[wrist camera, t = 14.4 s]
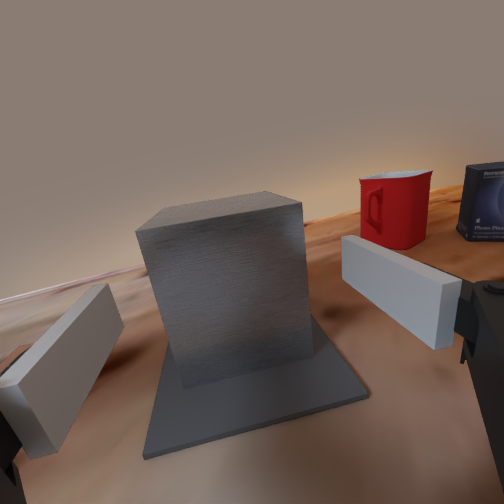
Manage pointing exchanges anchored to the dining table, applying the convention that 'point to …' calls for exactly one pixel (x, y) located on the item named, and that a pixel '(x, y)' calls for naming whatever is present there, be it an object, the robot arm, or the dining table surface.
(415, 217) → the mug
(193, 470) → the dining table surface
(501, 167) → the small box
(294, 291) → the steel cover
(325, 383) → the charcoal mat
